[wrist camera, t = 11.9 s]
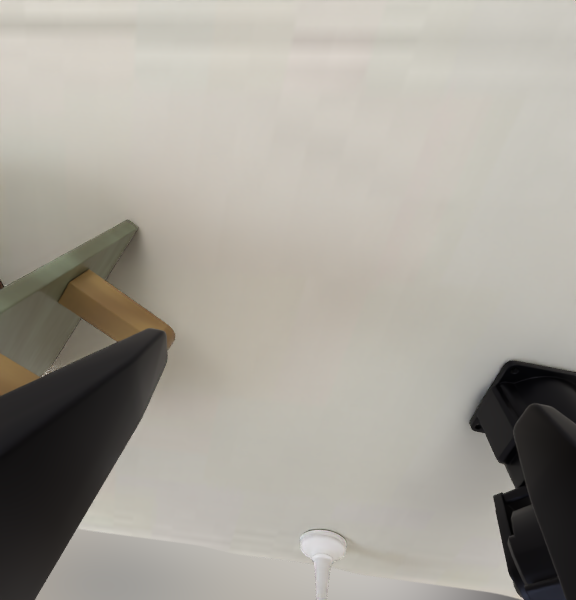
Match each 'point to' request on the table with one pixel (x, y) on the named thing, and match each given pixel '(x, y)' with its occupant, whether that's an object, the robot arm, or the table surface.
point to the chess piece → (322, 555)
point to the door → (67, 307)
